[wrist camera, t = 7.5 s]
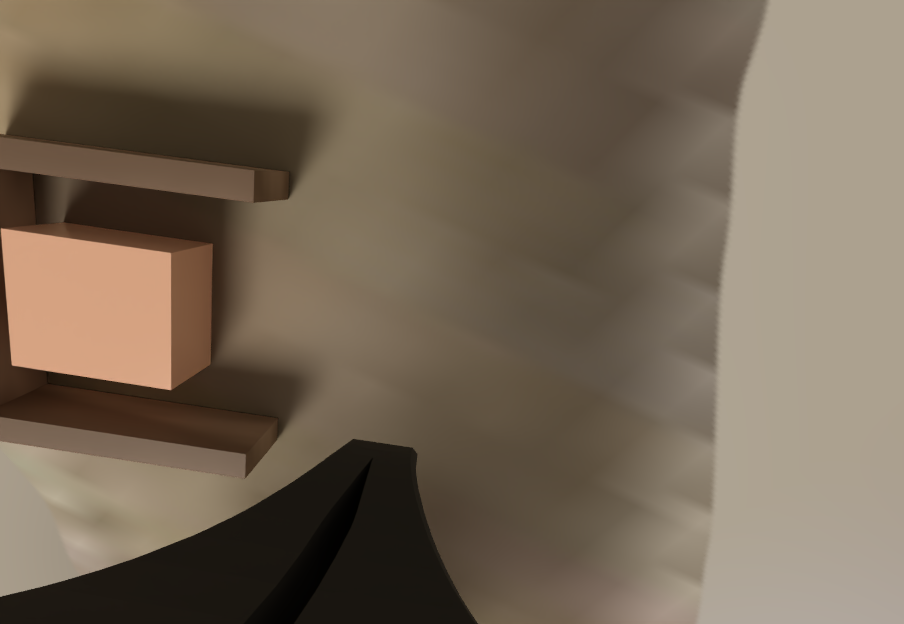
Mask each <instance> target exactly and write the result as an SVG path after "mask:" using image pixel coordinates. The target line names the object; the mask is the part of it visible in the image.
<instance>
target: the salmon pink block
mask: <svg viewBox="0 0 904 624" xmlns="http://www.w3.org/2000/svg"><path fill="white" fill-rule="evenodd" d="M1 238H2V250H3V263H4V275H5V287H6V300H7V312H8V324H9V336H10V349H11V361H12V365H13V366H19V367H25V368H32V369H38V370H45V371H51V372H58V373H64V374H70V375H77V376H83V377H90V378H96V379H103V380H109V381H115V382H122V383H128V384H135V385H141V386H148V387H154V388H160V389H167V390H172V389H174V388H175V387H177V386H178V385H180V384H181V383H183V382H184V381H186V380H188V379H189V378H191V377H192V376H194V375H195V374H197V373H198V372H200V371H201V370H203V369H204V368H206V367H207V366H209V365H211V314H212V257H213V244H211V243H204V242H197V241H190V240H183V239H176V238H169V237H162V236H156V235H149V234H142V233H135V232H128V231H121V230H114V229H107V228H100V227H93V226H86V225H79V224H72V223H65V222H62V223H51V224H41V225H31V226H20V227H10V228H1Z"/></svg>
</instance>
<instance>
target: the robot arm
mask: <svg viewBox="0 0 904 624" xmlns="http://www.w3.org/2000/svg"><path fill="white" fill-rule="evenodd" d="M416 462H417V453H416V452H415V450H414V449H413V448H410V447H403V446H397V445H390V444H383V443H376V442H370V441H363V440H356V439H353V440H351V441H350V442H348V443H347V444H346V445H344V446H343V447H341V448H340V449H339V450H337V451H336V452H334V453H333V454H332V455H330V456H329V457H328V458H326V459H325V460H323V461H322V462H321V463H319V464H318V465H317V466H315V467H314V468H312V469H311V470H309V471H308V472H307V473H305V474H304V475H302V476H301V477H299V478H298V479H296V480H295V481H293V482H292V483H290V484H289V485H287V486H285V487H284V488H282V489H281V490H279V491H277V492H276V493H274V494H272V495H271V496H269V497H267V498H266V499H264V500H263V501H261V502H259V503H258V504H256V505H254V506H252V507H251V508H249V509H247V510H245V511H243V512H241V513H239V514H237V515H236V516H234V517H232V518H230V519H228V520H225V521H223V522H221V523H219V524H217V525H215V526H213V527H211V528H209V529H207V530H205V531H202V532H200V533H198V534H196V535H193V536H191V537H188V538H186V539H183V540H181V541H178V542H176V543H173V544H171V545H168V546H166V547H163V548H161V549H158V550H156V551H153V552H150V553H148V554H145V555H143V556H140V557H137V558H135V559H132V560H129V561H126V562H123V563H120V564H117V565H114V566H111V567H108V568H105V569H102V570H99V571H95V572H92V573H89V574H85V575H82V576H79V577H75V578H72V579H69V580H65V581H62V582H58V583H55V584H51V585H47V586H43V587H40V588H35V589H31V590H27V591H23V592H18V593H14V594H10V595H6V596H2V597H0V624H478V623H477V622H476V620H475V619H474V617H473V616H472V614H471V613H470V611H469V609H468V608H467V606H466V605H465V603H464V602H463V600H462V599H461V597H460V595H459V593H458V591H457V589H456V588H455V586H454V584H453V582H452V580H451V578H450V576H449V574H448V572H447V570H446V568H445V566H444V564H443V562H442V560H441V557H440V555H439V553H438V550H437V548H436V545H435V543H434V540H433V538H432V535H431V532H430V529H429V526H428V524H427V520H426V517H425V514H424V510H423V506H422V502H421V498H420V494H419V490H418V485H417V477H416Z"/></svg>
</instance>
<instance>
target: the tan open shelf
mask: <svg viewBox="0 0 904 624" xmlns="http://www.w3.org/2000/svg"><path fill="white" fill-rule="evenodd" d="M32 173H35V174H43V175H50V176H58V177H65V178H73V179H80V180H88V181H95V182H102V183H110V184H117V185H125V186H132V187H140V188H147V189H155V190H162V191H170V192H177V193H185V194H192V195H200V196H207V197H215V198H222V199H230V200H237V201H245V202H252V203H255V202H265V201H276V200H286V199H288V193H289V172H287V171H279V170H272V169H264V168H256V167H249V166H241V165H233V164H226V163H218V162H211V161H203V160H195V159H188V158H180V157H172V156H165V155H157V154H150V153H142V152H134V151H127V150H119V149H111V148H104V147H96V146H88V145H81V144H73V143H66V142H58V141H50V140H43V139H35V138H27V137H20V136H12V135H4V134H0V441H3V442H10V443H16V444H23V445H29V446H36V447H42V448H49V449H55V450H62V451H68V452H75V453H81V454H88V455H94V456H101V457H107V458H114V459H120V460H127V461H133V462H140V463H146V464H153V465H159V466H166V467H172V468H179V469H185V470H192V471H198V472H205V473H211V474H218V475H224V476H231V477H237V478H244V479H245V478H246V477H247V476H248V475H249V473H250V472H251V471H252V470H253V468H254V467H255V466H256V465H257V464H258V462H259V461H260V460H261V459H262V457H263V456H264V455H265V454H266V453H267V451H268V450H269V449H270V448H271V446H272V445H273V444H274V443H275V442H276V440H277V430H278V418H274V417H267V416H260V415H254V414H247V413H240V412H234V411H227V410H220V409H214V408H207V407H200V406H193V405H187V404H180V403H173V402H167V401H160V400H153V399H146V398H140V397H133V396H126V395H120V394H113V393H106V392H99V391H93V390H86V389H79V388H73V387H66V386H59V385H52V384H48V383H47V371H45V370H38V369H32V368H25V367H19V366H13V365H12V361H11V349H10V336H9V324H8V312H7V300H6V287H5V275H4V263H3V250H2V238H1V228H10V227H20V226H31V225H36V217H35V203H34V189H33V176H32Z"/></svg>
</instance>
